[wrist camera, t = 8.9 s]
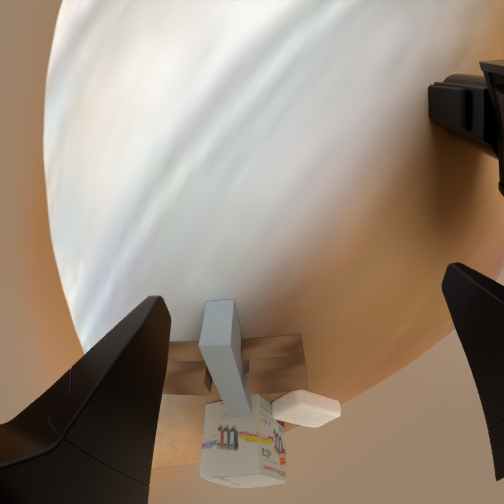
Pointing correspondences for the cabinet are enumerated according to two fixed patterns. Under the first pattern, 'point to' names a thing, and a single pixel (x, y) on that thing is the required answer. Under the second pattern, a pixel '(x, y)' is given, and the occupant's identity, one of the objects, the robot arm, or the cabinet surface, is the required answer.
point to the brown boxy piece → (254, 360)
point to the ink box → (243, 446)
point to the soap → (305, 408)
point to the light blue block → (226, 356)
